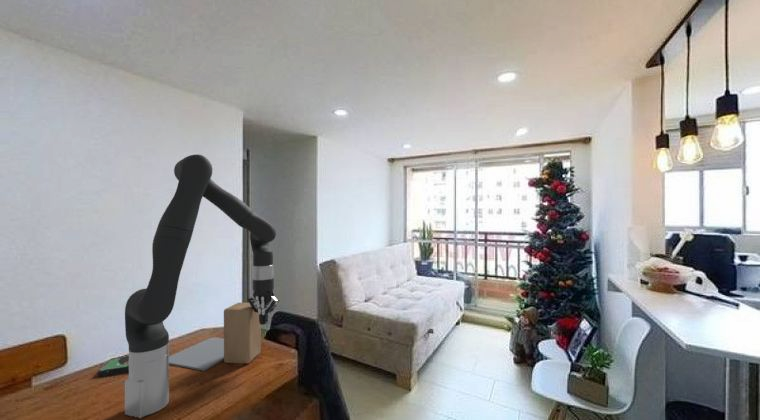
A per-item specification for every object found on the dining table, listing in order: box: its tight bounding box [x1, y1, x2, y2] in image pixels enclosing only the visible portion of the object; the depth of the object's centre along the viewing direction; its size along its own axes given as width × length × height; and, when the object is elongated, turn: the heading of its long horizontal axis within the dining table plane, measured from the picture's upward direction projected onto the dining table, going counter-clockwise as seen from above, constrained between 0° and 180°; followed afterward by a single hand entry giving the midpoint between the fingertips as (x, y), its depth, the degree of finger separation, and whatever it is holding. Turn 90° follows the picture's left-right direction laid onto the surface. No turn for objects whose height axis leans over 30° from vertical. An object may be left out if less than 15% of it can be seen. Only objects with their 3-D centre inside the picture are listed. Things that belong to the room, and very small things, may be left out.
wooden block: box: [223, 302, 262, 365], centre depth 119 cm, size 10×10×20 cm
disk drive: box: [97, 355, 129, 378], centre depth 114 cm, size 10×3×15 cm
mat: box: [169, 336, 224, 372], centre depth 125 cm, size 24×22×1 cm
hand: (263, 323), depth 116 cm, fingers closed
